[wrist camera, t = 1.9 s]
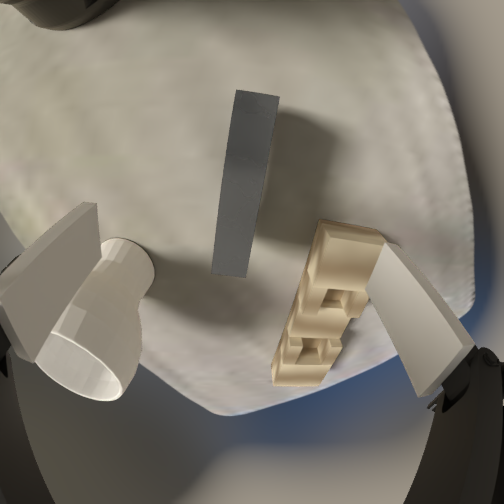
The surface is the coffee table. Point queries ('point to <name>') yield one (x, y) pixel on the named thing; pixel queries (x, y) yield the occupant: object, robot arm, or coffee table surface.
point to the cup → (101, 326)
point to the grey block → (243, 180)
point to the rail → (326, 301)
